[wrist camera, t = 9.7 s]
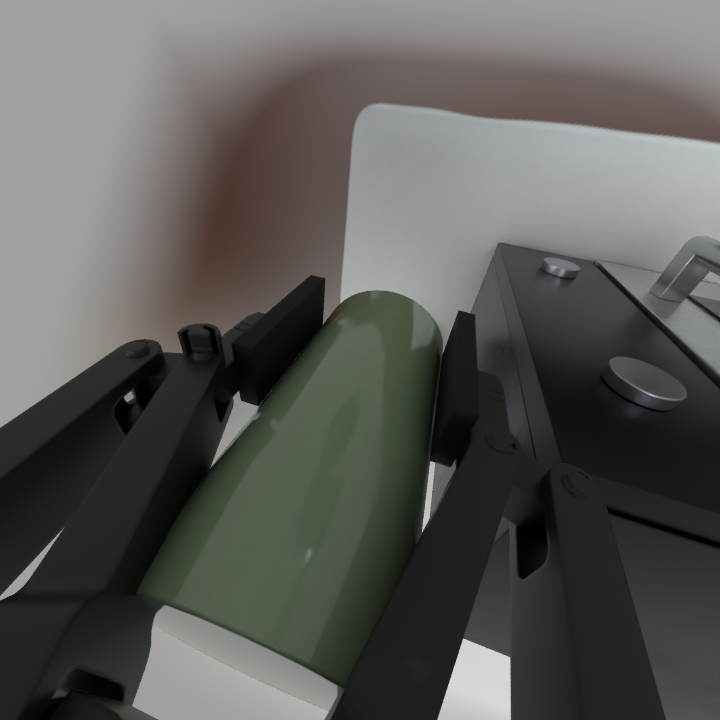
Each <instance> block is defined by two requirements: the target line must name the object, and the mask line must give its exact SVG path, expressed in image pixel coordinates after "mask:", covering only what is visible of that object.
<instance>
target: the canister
mask: <svg viewBox="0 0 720 720" xmlns="http://www.w3.org/2000/svg"><path fill="white" fill-rule="evenodd" d="M442 355H443V340H442V336H441V333H440V330H439V328H438V326H437V324H436V322H435V321H434V319H433V318H432V317H431V315H430V314H429V313H428V312H427V311H426V310H425V309H424V308H423V307H422V306H420V305H419V304H418V303H416V302H415V301H413V300H411V299H410V298H408V297H405V296H403V295H401V294H397V293H394V292H389V291H377V290H374V291H366V292H362V293H358V294H355V295H353V296H351V297H349V298H347V299H346V300H344V301H343V302H342V303H341V304H339V306H338V307H337V308H336V309H335V310H334V311H333V313H332V314H331V315H330V317H329V318H328V319H327V320H326V322H325V323H324V324H323V325H322V327H321V328H320V329H319V330H318V332H317V333H316V334H315V336H314V337H313V338H312V339H311V341H310V342H309V343H308V344H307V346H306V347H305V348H304V350H303V351H302V352H301V353H300V355H299V356H298V357H297V359H296V360H295V361H294V362H293V364H292V365H291V366H290V367H289V369H288V370H287V371H286V373H285V374H284V375H283V376H282V378H281V379H280V380H279V381H278V383H277V384H276V385H275V387H274V388H273V389H272V390H271V392H270V393H269V394H268V396H267V397H266V398H265V399H264V401H263V402H262V403H261V404H260V406H259V407H258V408H257V410H256V411H255V412H254V413H253V415H252V416H251V417H250V418H249V420H248V421H247V422H246V424H245V425H244V426H243V427H242V429H241V430H240V431H239V433H238V434H237V435H236V437H235V438H234V439H233V440H232V442H231V443H230V444H229V445H228V447H227V448H226V449H225V450H224V452H223V453H222V454H221V455H220V457H219V458H218V459H217V461H216V462H215V463H214V464H213V466H212V467H211V468H210V470H209V471H208V472H207V473H206V475H205V476H204V477H203V479H202V480H201V482H200V483H199V484H198V486H197V487H196V489H195V490H194V492H193V493H192V494H191V496H190V498H189V499H188V501H187V503H186V504H185V506H184V508H183V509H182V511H181V512H180V514H179V516H178V517H177V519H176V521H175V522H174V524H173V526H172V528H171V529H170V531H169V533H168V535H167V537H166V538H165V540H164V542H163V544H162V546H161V547H160V549H159V551H158V553H157V555H156V556H155V558H154V560H153V562H152V563H151V565H150V567H149V569H148V571H147V573H146V574H145V576H144V578H143V580H142V582H141V584H140V586H139V588H138V590H137V593H136V594H137V596H138V597H139V598H140V599H141V600H142V601H143V602H144V603H145V604H147V605H148V606H149V607H150V608H151V609H152V610H153V611H154V612H156V615H155V618H154V621H153V625H154V626H156V627H158V628H159V629H161V630H163V631H164V632H166V633H168V634H170V635H171V636H173V637H175V638H177V639H179V640H181V641H182V642H184V643H186V644H188V645H189V646H191V647H193V648H195V649H197V650H199V651H201V652H203V653H205V654H206V655H208V656H210V657H212V658H214V659H216V660H218V661H220V662H222V663H224V664H226V665H228V666H230V667H232V668H234V669H236V670H238V671H240V672H242V673H244V674H246V675H248V676H250V677H253V678H255V679H257V680H259V681H261V682H263V683H265V684H268V685H270V686H272V687H274V688H276V689H278V690H281V691H283V692H285V693H287V694H290V695H292V696H294V697H297V698H299V699H301V700H303V701H306V702H308V703H311V704H313V705H315V706H318V707H320V708H323V709H325V710H328V711H330V709H331V707H332V705H333V703H334V701H335V699H336V698H337V696H338V694H339V693H340V692H341V691H342V689H343V688H344V686H345V684H346V682H347V680H348V678H349V676H350V674H351V672H352V670H353V668H354V666H355V664H356V662H357V660H358V658H359V656H360V655H361V653H362V651H363V649H364V647H365V645H366V643H367V641H368V639H369V637H370V635H371V633H372V631H373V629H374V627H375V625H376V623H377V621H378V619H379V617H380V615H381V613H382V611H383V609H384V607H385V605H386V603H387V601H388V600H389V598H390V596H391V594H392V592H393V590H394V588H395V586H396V584H397V582H398V580H399V578H400V576H401V574H402V572H403V570H404V568H405V566H406V564H407V562H408V560H409V558H410V556H411V554H412V552H413V550H414V548H415V546H416V544H417V542H418V540H419V538H420V536H421V534H422V526H423V517H424V509H425V500H426V492H427V483H428V474H429V466H430V461H429V460H430V452H431V443H432V435H433V427H434V418H435V410H436V401H437V393H438V385H439V376H440V368H441V360H442Z"/></svg>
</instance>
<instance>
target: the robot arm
mask: <svg viewBox="0 0 720 720" xmlns="http://www.w3.org/2000/svg"><path fill="white" fill-rule="evenodd" d="M324 291H325V278H321V277H317V276H313V275H311V276H310V277H308V278H307V279H306V280H305V281H304V282H302V283H301V284H300V285H299V286H298V287H297V288H295V289H294V290H293V291H292V292H291V293H290V294H288V295H287V296H286V297H285V298H284V299H283V300H281V301H280V302H279V303H278V304H277V305H275V306H274V307H273V308H272V309H271V310H270V311H269V312H267V313H266V314H263V313H259V312H257V313H255V314H252V315H250V316H247V317H246V318H245V319H243V320H242V321H241V322H240V323H239V324H237V325H236V326H234V328H233V329H231V330H229V331H228V332H227V333H226V334H224V335H223V336H222V337H221V334H220V330H219V329H218V328H217V327H216V326H214V325H211V324H206V323H205V324H193V325H189V326H186V327H184V328H182V329H181V330H179V331H178V332H177V333H178V337H179V340H180V344H181V347H182V350H183V353H166V352H163V351H162V348H161V346H160V345H159V343H158V342H156V341H153V340H146V339H144V340H135V341H132V342H129V343H126V344H124V345H123V346H120V347H119V348H117V349H116V350H115V351H113V352H112V353H110V354H109V355H107V356H106V357H104V358H103V359H101V360H100V361H98V362H97V363H95V364H94V365H92V366H91V367H89V368H88V369H86V370H85V371H83V372H82V373H81V374H79V375H78V376H76V377H75V378H73V379H72V380H70V381H69V382H68V383H66V384H64V385H63V386H61V387H60V388H58V389H57V390H56V391H54V392H53V393H51V394H50V395H48V396H47V397H46V398H44V399H42V400H41V401H39V402H38V403H36V404H35V405H33V406H32V407H30V408H29V409H28V410H26V411H25V412H23V413H22V414H20V415H19V416H17V417H16V418H14V419H13V420H12V421H10V422H9V423H7V424H6V425H4V426H3V427H1V428H0V595H1V594H2V593H3V592H4V591H5V590H6V589H7V588H8V587H9V586H10V585H11V584H12V583H13V581H14V580H15V579H16V578H17V577H18V576H19V575H20V574H21V573H22V572H23V571H24V570H25V568H27V567H28V565H29V564H30V563H31V562H32V561H33V560H34V559H35V558H36V557H37V556H38V555H39V554H40V552H42V550H43V549H44V548H45V547H46V546H47V545H48V544H49V543H50V542H51V541H52V540H53V539H54V538H55V537H56V536H57V534H58V533H59V532H60V531H61V530H62V529H63V528H64V529H63V530H62V532H61V533H60V535H59V537H58V538H57V539H56V541H55V542H54V544H53V545H52V547H51V548H50V550H49V551H48V552H47V554H46V555H45V557H44V558H43V560H42V562H41V563H40V564H39V566H38V567H37V569H36V570H35V572H34V573H33V575H32V576H31V578H30V579H29V580H28V581H27V583H26V584H25V585H24V586H23V587H22V588H21V589H20V590H19V591H18V592H16V593H15V594H14V595H11V596H9V597H7V598H5V599H3V600H0V720H157V719H156V718H154V717H152V716H150V715H148V714H146V713H144V712H142V711H140V710H138V709H136V708H134V707H132V704H133V701H134V699H135V696H136V693H137V690H138V687H139V684H140V682H141V679H142V676H143V673H144V670H145V667H146V664H147V660H148V657H149V653H150V647H151V630H152V625H153V621H154V618H155V615H156V612H154V611H153V610H152V609H151V608H150V607H149V606H148V605H147V604H145V603H144V602H143V601H142V600H141V599H140V598H139V597H138V596H137V594H136V593H137V590H138V588H139V586H140V584H141V582H142V580H143V578H144V576H145V574H146V573H147V571H148V569H149V567H150V565H151V563H152V562H153V560H154V558H155V556H156V555H157V553H158V551H159V549H160V547H161V546H162V544H163V542H164V540H165V538H166V537H167V535H168V533H169V531H170V529H171V528H172V526H173V524H174V522H175V521H176V519H177V517H178V516H179V514H180V512H181V511H182V509H183V508H184V506H185V504H186V503H187V501H188V499H189V498H190V496H191V494H192V493H193V492H194V490H195V489H196V487H197V486H198V484H199V483H200V482H201V480H202V479H203V477H204V476H205V475H206V473H207V472H208V471H209V470H210V467H211V465H212V462H213V459H214V456H215V454H216V451H217V448H218V446H219V443H220V441H221V438H222V435H223V432H224V430H225V427H226V424H227V422H228V419H229V416H230V413H231V411H232V408H233V396H234V395H235V394H236V393H237V392H238V391H239V392H240V398H241V401H244V402H247V403H250V404H253V405H257V406H259V405H260V404H261V403H262V401H263V400H264V399H265V398H266V396H267V395H268V394H269V393H270V391H271V390H272V389H273V387H274V386H275V385H276V384H277V382H278V381H279V380H280V379H281V377H282V376H283V375H284V374H285V372H286V371H287V370H288V368H289V367H290V366H291V365H292V363H293V362H294V361H295V360H296V358H297V357H298V356H299V355H300V353H301V352H302V351H303V349H304V348H305V347H306V346H307V344H308V343H309V342H310V341H311V339H312V338H313V337H314V336H315V334H316V333H317V332H318V330H319V329H320V328H321V327H322V325H323V310H324ZM130 391H131V392H132V394H133V396H134V398H133V399H132V400H130V401H129V402H126V401H125V399H124V396H125V395H126V394H127V393H129V392H130ZM504 395H505V393H504V386H503V384H502V382H501V381H500V379H499V378H498V376H497V375H495V374H491V373H487V372H483V371H480V370H478V366H477V343H476V321H475V314H471V313H467V312H463V311H458V314H457V317H456V319H455V322H454V325H453V328H452V330H451V333H450V336H449V339H448V341H447V344H446V347H445V350H444V352H443V355H442V360H441V368H440V376H439V385H438V393H437V401H436V410H435V418H434V427H433V435H432V443H431V452H430V460H429V461H432V462H435V463H438V464H441V465H445V466H448V467H452V465H453V463H454V461H455V459H456V467H455V471H454V473H453V475H452V477H451V478H450V480H449V482H448V484H447V486H446V487H445V490H444V492H443V494H442V496H441V498H440V500H439V502H438V504H437V505H436V507H435V509H434V511H433V513H432V515H431V517H430V519H429V521H428V523H427V525H426V527H425V528H424V531H423V532H422V534H421V536H420V538H419V540H418V542H417V544H416V546H415V548H414V550H413V552H412V554H411V556H410V558H409V560H408V562H407V564H406V566H405V568H404V570H403V572H402V574H401V576H400V578H399V580H398V582H397V584H396V586H395V588H394V590H393V592H392V594H391V596H390V598H389V600H388V601H387V603H386V605H385V607H384V609H383V611H382V613H381V615H380V617H379V619H378V621H377V623H376V625H375V627H374V629H373V631H372V633H371V635H370V637H369V639H368V641H367V643H366V645H365V647H364V649H363V651H362V653H361V655H360V656H359V658H358V660H357V662H356V664H355V666H354V668H353V670H352V672H351V674H350V676H349V678H348V680H347V682H346V684H345V686H344V688H343V689H342V691H341V692H340V693H339V694H338V696H337V698H336V699H335V701H334V703H333V705H332V707H331V709H330V711H329V713H328V715H327V716H326V718H325V720H437V719H438V716H439V712H440V709H441V706H442V703H443V700H444V696H445V693H446V690H447V687H448V684H449V681H450V678H451V675H452V672H453V668H454V665H455V662H456V659H457V656H458V653H459V649H460V646H461V643H462V640H463V637H464V634H465V631H466V628H467V624H468V621H469V618H470V615H471V612H472V609H473V606H474V602H475V599H476V596H477V593H478V590H479V587H480V584H481V580H482V577H483V574H484V571H485V568H486V565H487V562H488V558H489V555H490V552H491V549H492V546H493V543H494V540H495V536H496V533H497V530H498V527H499V524H500V521H501V518H502V516H503V517H504V518H506V519H507V520H509V535H510V660H511V720H666V717H665V714H664V710H663V707H662V703H661V699H660V696H659V692H658V689H657V685H656V682H655V678H654V674H653V671H652V667H651V664H650V660H649V657H648V653H647V649H646V646H645V642H644V639H643V635H642V632H641V628H640V624H639V621H638V617H637V614H636V610H635V607H634V603H633V599H632V596H631V592H630V589H629V585H628V581H627V578H626V574H625V571H624V567H623V564H622V560H621V556H620V553H619V549H618V546H617V542H616V539H615V535H614V531H613V528H612V524H611V521H610V517H609V514H608V510H607V506H606V503H605V499H604V496H603V493H602V491H601V489H600V487H599V485H598V484H597V483H596V482H595V481H594V479H593V478H592V477H591V476H589V475H588V474H587V473H586V472H584V471H583V470H582V469H580V468H578V467H576V466H574V465H571V464H566V463H557V464H555V465H554V466H553V467H551V468H549V467H547V466H545V465H543V464H542V463H540V462H538V461H536V460H534V459H533V458H531V457H530V456H528V455H527V454H525V453H524V452H523V451H522V447H521V445H520V443H519V441H518V440H517V438H516V437H515V436H514V435H513V434H512V433H510V427H509V420H508V413H507V407H506V404H505V403H506V400H505V396H504Z"/></svg>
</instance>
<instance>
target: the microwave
mask: <svg viewBox="0 0 720 720" xmlns="http://www.w3.org/2000/svg"><path fill="white" fill-rule="evenodd" d="M471 314H475V321H476V343H477V366H478V370H480V371H483V372H487V373H491V374H495V375H497V376H498V378H499V379H500V381H501V382H502V384H503V386H504V393H505V395H504V396H505V400H506V403H505V404H506V407H507V413H508V420H509V427H510V433H512V434H513V435H514V436H515V437H516V438H517V440H518V441H519V443H520V445H521V447H522V451H523V452H524V453H525V454H527V455H528V456H530V457H531V458H533V459H534V460H536V461H538V462H540V463H542V464H543V465H545V466H547V467H549V468H551V467H553V466H554V465H555V464H557V463H566V464H571V465H574V466H576V467H578V468H580V469H582V470H583V471H584V472H586V473H587V474H588V475H589V476H591V477H592V478H593V479H594V481H595V482H596V483H597V484H598V485H599V487H600V489H601V491H602V493H603V496H604V499H605V503H606V506H607V510H608V514H609V517H610V521H611V524H612V528H613V531H614V535H615V539H616V542H617V546H618V549H619V553H620V556H621V560H622V564H623V567H624V571H625V574H626V578H627V581H628V585H629V589H630V592H631V596H632V599H633V603H634V607H635V610H636V614H637V617H638V621H639V624H640V628H641V632H642V635H643V639H644V642H645V646H646V649H647V653H648V657H649V660H650V664H651V667H652V671H653V674H654V678H655V682H656V685H657V689H658V692H659V696H660V699H661V703H662V707H663V710H664V714H665V717H666V720H720V389H719V388H718V387H717V386H716V385H715V384H714V383H713V382H712V381H711V380H710V379H709V378H708V377H707V376H706V375H705V374H704V373H703V372H702V371H701V370H700V369H699V368H698V367H697V366H696V365H695V364H694V363H693V362H692V361H691V360H690V359H689V358H688V357H687V356H686V355H685V354H684V353H683V352H682V351H681V350H680V349H679V348H678V347H677V346H676V345H675V344H674V343H673V342H672V341H671V340H670V339H669V338H668V337H667V336H666V335H665V334H664V333H663V332H662V331H661V330H660V329H659V328H658V327H657V326H656V325H655V324H654V323H653V322H652V321H651V320H650V319H649V318H648V317H647V316H646V315H645V314H644V313H643V312H642V311H641V310H640V309H639V308H638V307H637V306H636V305H635V304H634V303H633V302H632V301H631V300H629V299H628V298H627V297H626V296H625V295H624V294H623V293H622V292H621V291H620V290H619V289H618V288H617V287H616V286H615V285H614V284H613V283H612V282H611V281H610V280H609V279H608V278H607V277H606V276H605V275H604V274H603V273H602V272H601V271H600V270H599V269H598V268H597V267H596V266H595V265H594V264H593V263H592V262H591V261H586V260H581V259H577V258H572V257H567V256H562V255H557V254H552V253H547V252H542V251H537V250H532V249H527V248H522V247H517V246H512V245H508V244H503V243H498V246H497V248H496V251H495V253H494V256H493V258H492V260H491V263H490V265H489V268H488V270H487V273H486V275H485V278H484V280H483V283H482V285H481V288H480V290H479V293H478V295H477V298H476V300H475V303H474V305H473V308H472V311H471ZM455 467H456V459H455V461H454V463H453V465H452V467H448V466H445V465H441V464H438V463H435V472H434V482H433V491H432V501H431V511H430V517H431V515H432V513H433V511H434V509H435V507H436V505H437V504H438V502H439V500H440V498H441V496H442V494H443V492H444V490H445V487H446V486H447V484H448V482H449V480H450V478H451V477H452V475H453V473H454V471H455ZM463 638H464V639H466V640H469V641H471V642H474V643H476V644H479V645H481V646H484V647H486V648H489V649H491V650H494V651H496V652H499V653H501V654H504V655H506V656H509V657H510V535H509V520H507V519H506V518H504V517H503V516H502V518H501V521H500V524H499V527H498V530H497V533H496V536H495V540H494V543H493V546H492V549H491V552H490V555H489V558H488V562H487V565H486V568H485V571H484V574H483V577H482V580H481V584H480V587H479V590H478V593H477V596H476V599H475V602H474V606H473V609H472V612H471V615H470V618H469V621H468V624H467V628H466V631H465V634H464V637H463Z"/></svg>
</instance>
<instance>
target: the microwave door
mask: <svg viewBox="0 0 720 720" xmlns="http://www.w3.org/2000/svg"><path fill="white" fill-rule="evenodd" d="M594 265H595V266H596V267H597V268H598V269H599V270H600V271H601V272H602V273H603V274H604V275H605V276H606V277H607V278H608V279H609V280H610V281H611V282H612V283H613V284H614V285H615V286H616V287H617V288H618V289H619V290H620V291H621V292H622V293H623V294H624V295H625V296H626V297H627V298H628V299H629V300H631V301H632V302H633V303H634V304H635V305H636V306H637V307H638V308H639V309H640V310H641V311H642V312H643V313H644V314H645V315H646V316H647V317H648V318H649V319H650V320H651V321H652V322H653V323H654V324H655V325H656V326H657V327H658V328H659V329H660V330H661V331H662V332H663V333H664V334H665V335H666V336H667V337H668V338H669V339H670V340H671V341H672V342H673V343H674V344H675V345H676V346H677V347H678V348H679V349H680V350H681V351H682V352H683V353H684V354H685V355H686V356H687V357H688V358H689V359H690V360H691V361H692V362H693V363H694V364H695V365H696V366H697V367H698V368H699V369H700V370H701V371H702V372H703V373H704V374H705V375H706V376H707V377H708V378H709V379H710V380H711V381H712V382H713V383H714V384H715V385H716V386H717V387H718V388H719V389H720V285H718V284H713V283H708V282H703V281H702V279H703V278H704V277H705V276H706V275H707V274H708V273H709V271H711V272H713V273H715V274H717V275H718V276H720V241H718V240H716V239H713V238H711V237H708V236H697V237H694V238H692V239H690V240H689V241H687V242H686V243H685V244H684V246H683V247H682V249H681V250H680V251H679V252H678V254H677V255H676V256H675V258H674V259H673V260H672V261H671V263H670V264H669V265H668V267H667V268H666V269H665V271H664V272H663V273H659V272H654V271H649V270H644V269H639V268H634V267H629V266H624V265H619V264H614V263H609V262H604V261H599V260H597V261H596V262H595V264H594Z"/></svg>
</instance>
